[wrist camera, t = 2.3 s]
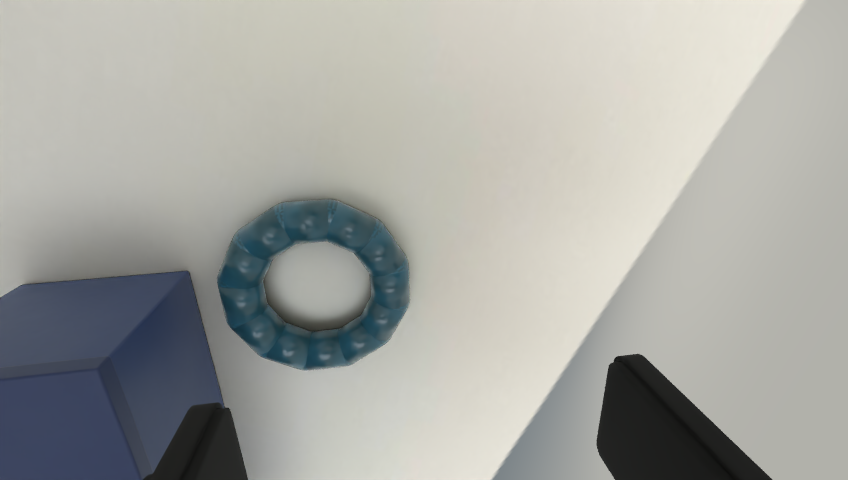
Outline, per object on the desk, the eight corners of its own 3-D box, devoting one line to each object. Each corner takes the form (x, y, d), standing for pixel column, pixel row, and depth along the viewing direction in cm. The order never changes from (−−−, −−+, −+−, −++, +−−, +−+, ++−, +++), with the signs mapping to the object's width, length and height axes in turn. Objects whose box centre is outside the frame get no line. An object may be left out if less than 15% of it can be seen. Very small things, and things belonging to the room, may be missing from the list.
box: (13, 279, 15) (-207, 403, 9) (193, 264, 16) (97, 368, 10) (113, 507, 20) (8, 689, 14) (250, 486, 21) (206, 648, 15)
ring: (208, 202, 15) (193, 214, 14) (402, 189, 16) (407, 200, 15) (245, 362, 18) (235, 387, 16) (410, 343, 19) (414, 365, 17)
